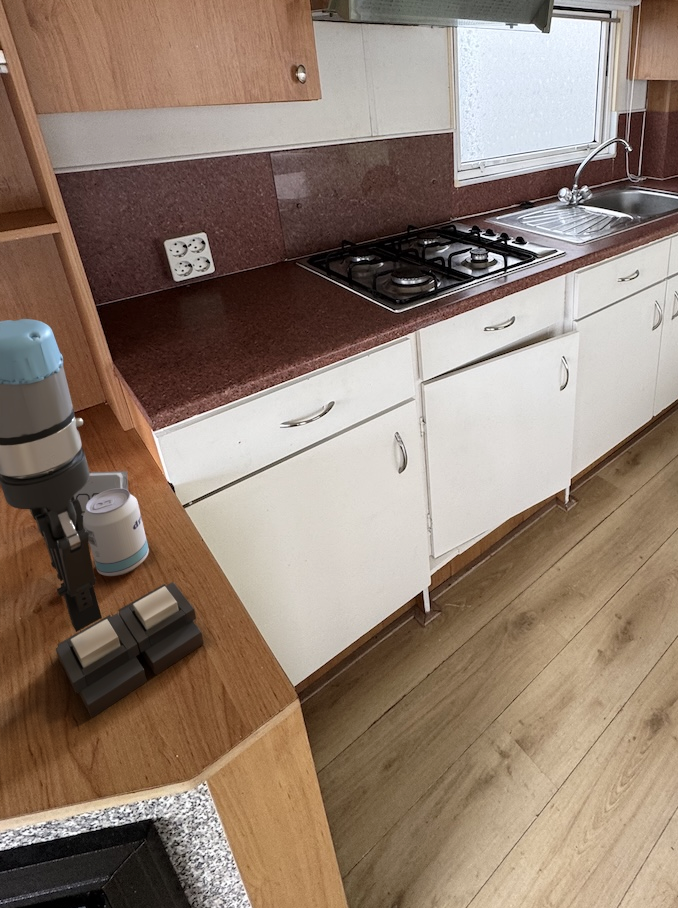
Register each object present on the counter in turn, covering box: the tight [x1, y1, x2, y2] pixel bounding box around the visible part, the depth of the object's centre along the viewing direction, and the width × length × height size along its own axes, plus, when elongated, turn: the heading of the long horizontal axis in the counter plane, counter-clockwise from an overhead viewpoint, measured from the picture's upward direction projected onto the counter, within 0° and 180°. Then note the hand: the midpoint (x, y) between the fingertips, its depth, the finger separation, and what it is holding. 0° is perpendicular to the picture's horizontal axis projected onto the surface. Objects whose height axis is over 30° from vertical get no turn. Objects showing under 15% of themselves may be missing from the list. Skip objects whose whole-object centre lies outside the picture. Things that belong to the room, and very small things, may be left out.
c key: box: [71, 619, 120, 669], centre depth 72 cm, size 4×4×2 cm
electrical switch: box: [74, 470, 129, 530], centre depth 98 cm, size 9×5×9 cm, turn 95°
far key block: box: [118, 581, 205, 676], centre depth 78 cm, size 12×7×4 cm, turn 50°
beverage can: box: [83, 488, 150, 577], centre depth 88 cm, size 7×7×12 cm
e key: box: [133, 586, 179, 630], centre depth 77 cm, size 4×4×2 cm
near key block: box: [55, 612, 147, 719], centre depth 73 cm, size 12×7×4 cm, turn 50°
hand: (87, 621), depth 71 cm, fingers closed
